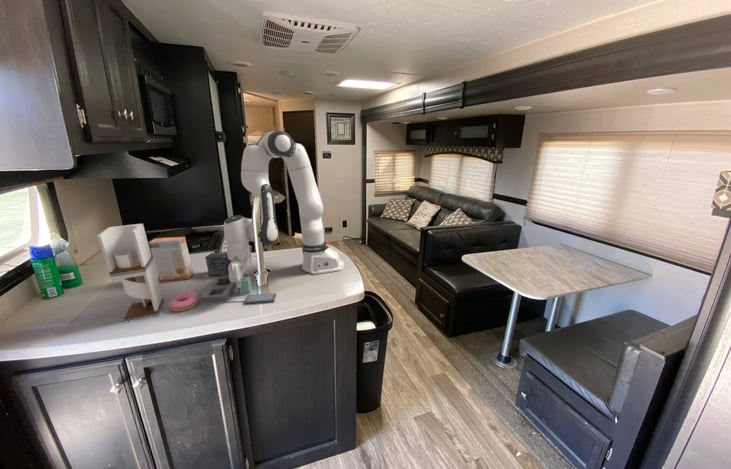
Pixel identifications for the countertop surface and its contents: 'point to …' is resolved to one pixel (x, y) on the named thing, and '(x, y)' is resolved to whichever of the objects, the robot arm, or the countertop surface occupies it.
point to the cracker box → (171, 258)
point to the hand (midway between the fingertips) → (242, 281)
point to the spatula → (258, 299)
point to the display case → (133, 268)
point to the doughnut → (183, 302)
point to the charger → (245, 285)
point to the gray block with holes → (219, 291)
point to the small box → (218, 264)
